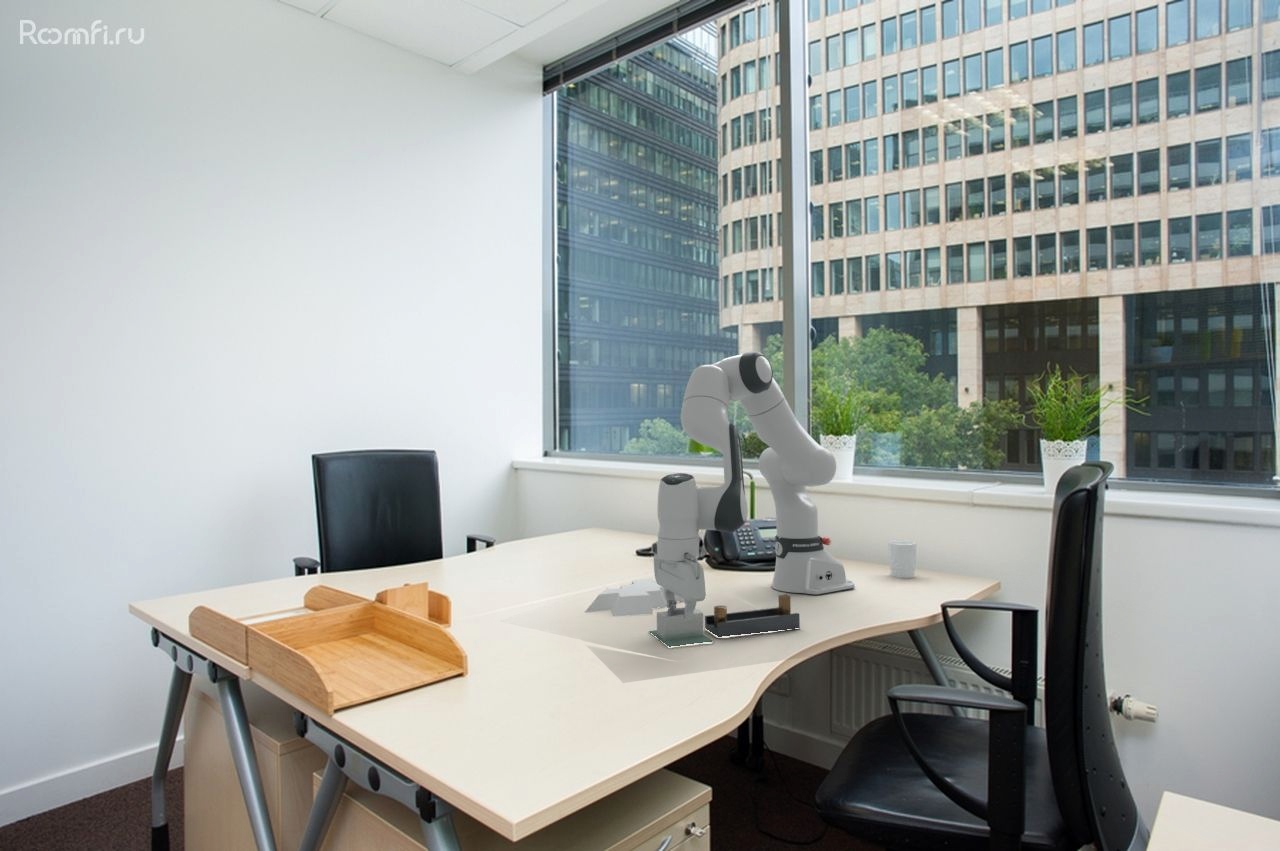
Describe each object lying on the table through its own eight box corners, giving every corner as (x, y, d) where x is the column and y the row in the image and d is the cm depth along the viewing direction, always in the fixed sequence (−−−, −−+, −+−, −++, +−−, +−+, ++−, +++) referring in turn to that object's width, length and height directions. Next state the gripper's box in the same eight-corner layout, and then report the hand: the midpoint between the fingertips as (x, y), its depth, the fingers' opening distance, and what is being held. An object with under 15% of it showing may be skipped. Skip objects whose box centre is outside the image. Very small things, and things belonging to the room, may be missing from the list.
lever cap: (695, 630, 171) (694, 604, 171) (703, 635, 166) (702, 609, 166) (657, 635, 168) (656, 608, 168) (664, 640, 163) (663, 613, 163)
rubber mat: (690, 629, 174) (690, 626, 174) (713, 644, 163) (712, 640, 163) (648, 634, 171) (648, 631, 171) (669, 649, 160) (669, 646, 160)
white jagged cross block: (632, 631, 177) (631, 607, 177) (566, 619, 188) (565, 596, 188) (709, 599, 205) (708, 579, 205) (647, 591, 217) (647, 571, 217)
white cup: (882, 575, 229) (882, 541, 228) (903, 572, 232) (902, 539, 232) (902, 580, 221) (901, 545, 221) (922, 577, 225) (922, 543, 225)
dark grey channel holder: (783, 621, 180) (783, 591, 179) (799, 629, 173) (799, 598, 173) (705, 631, 173) (704, 600, 173) (718, 639, 166) (718, 607, 166)
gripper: (712, 556, 158) (713, 623, 158) (674, 541, 177) (675, 601, 177) (684, 559, 156) (685, 627, 156) (648, 543, 175) (649, 604, 175)
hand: (679, 613), depth 167 cm, fingers open, 8 cm apart
